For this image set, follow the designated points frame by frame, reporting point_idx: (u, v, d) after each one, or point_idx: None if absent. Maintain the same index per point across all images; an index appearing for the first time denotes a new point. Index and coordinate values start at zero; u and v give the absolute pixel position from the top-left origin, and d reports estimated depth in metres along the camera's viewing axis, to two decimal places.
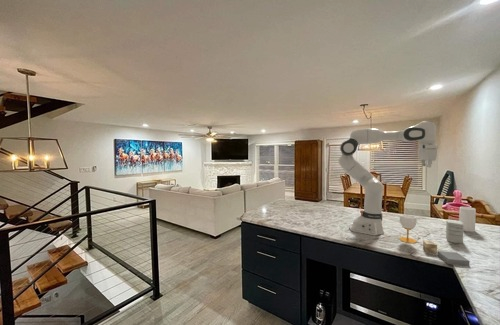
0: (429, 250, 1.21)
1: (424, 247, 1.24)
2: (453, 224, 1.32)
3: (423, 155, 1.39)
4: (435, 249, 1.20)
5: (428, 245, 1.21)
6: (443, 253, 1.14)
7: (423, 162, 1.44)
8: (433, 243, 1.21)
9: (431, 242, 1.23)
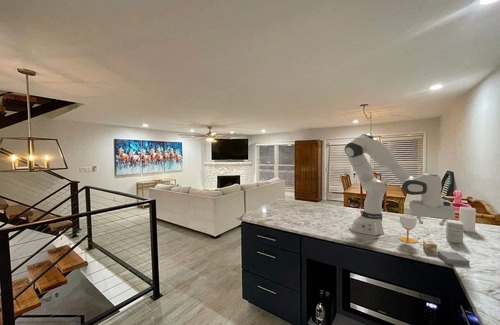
0: (429, 250, 1.21)
1: (424, 247, 1.24)
2: (453, 224, 1.32)
3: (433, 212, 1.20)
4: (435, 249, 1.20)
5: (428, 245, 1.21)
6: (443, 253, 1.14)
7: None
8: (433, 243, 1.21)
9: (431, 242, 1.23)
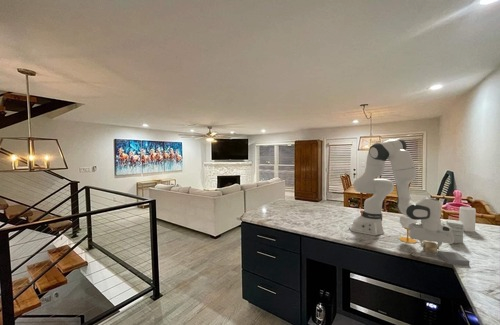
0: (429, 250, 1.21)
1: (424, 247, 1.24)
2: (453, 224, 1.32)
3: (432, 236, 1.21)
4: (435, 249, 1.20)
5: (428, 245, 1.21)
6: (443, 253, 1.14)
7: None
8: (433, 243, 1.21)
9: (431, 242, 1.23)
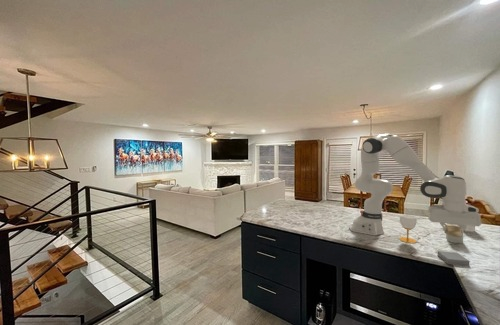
0: (452, 234, 1.09)
1: (446, 231, 1.12)
2: None
3: (455, 218, 1.09)
4: (459, 233, 1.08)
5: (451, 228, 1.09)
6: (443, 253, 1.14)
7: (443, 226, 1.12)
8: (456, 226, 1.09)
9: (454, 225, 1.11)
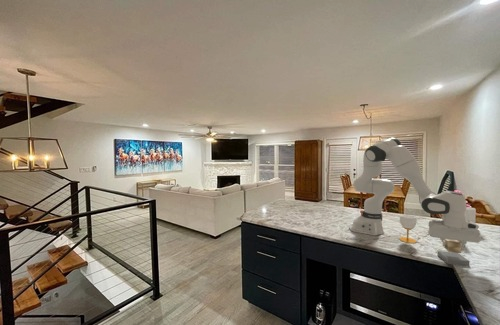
0: (452, 250, 1.10)
1: None
2: None
3: (455, 234, 1.09)
4: (459, 249, 1.08)
5: (451, 244, 1.10)
6: (443, 253, 1.14)
7: (443, 241, 1.13)
8: (456, 242, 1.10)
9: (454, 241, 1.11)
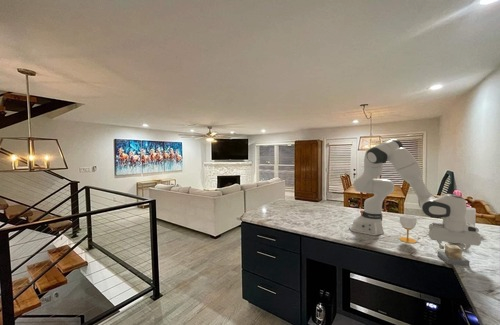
0: (453, 255, 1.10)
1: (446, 252, 1.13)
2: None
3: (456, 237, 1.09)
4: (459, 254, 1.09)
5: (451, 250, 1.10)
6: (443, 253, 1.14)
7: (440, 244, 1.14)
8: (457, 247, 1.10)
9: (455, 246, 1.12)
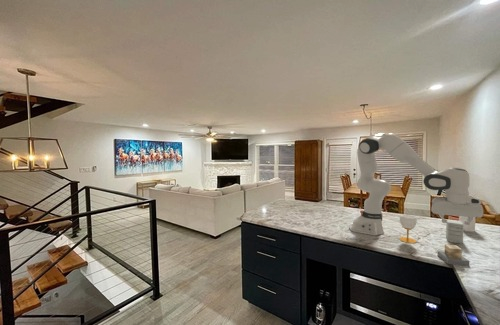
0: (453, 255, 1.10)
1: (446, 252, 1.13)
2: (453, 224, 1.32)
3: (459, 210, 1.09)
4: (459, 254, 1.09)
5: (451, 250, 1.10)
6: (443, 253, 1.14)
7: None
8: (457, 247, 1.10)
9: (455, 246, 1.12)
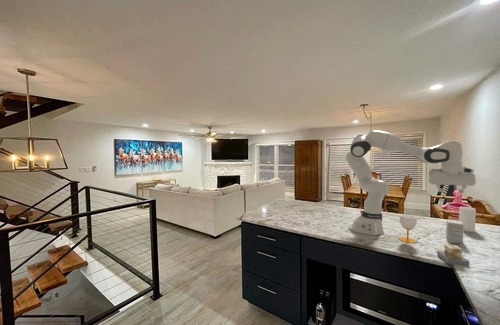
0: (453, 255, 1.10)
1: (446, 252, 1.13)
2: (453, 224, 1.32)
3: (453, 180, 1.21)
4: (459, 254, 1.09)
5: (452, 250, 1.10)
6: (443, 253, 1.15)
7: None
8: (457, 247, 1.10)
9: (454, 246, 1.12)
